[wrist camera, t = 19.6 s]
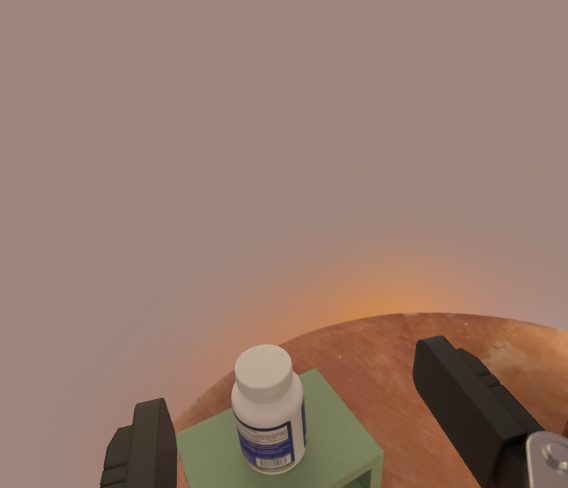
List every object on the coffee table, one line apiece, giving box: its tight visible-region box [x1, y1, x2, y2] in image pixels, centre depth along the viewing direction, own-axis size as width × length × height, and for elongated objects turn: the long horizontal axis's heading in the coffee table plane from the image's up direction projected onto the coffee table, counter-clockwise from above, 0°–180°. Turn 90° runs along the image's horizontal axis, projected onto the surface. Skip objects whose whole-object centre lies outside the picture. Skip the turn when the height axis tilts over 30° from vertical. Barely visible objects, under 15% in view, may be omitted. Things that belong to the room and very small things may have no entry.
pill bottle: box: [231, 344, 307, 475], centre depth 28 cm, size 5×5×9 cm
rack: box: [175, 368, 384, 488], centre depth 32 cm, size 14×10×7 cm
